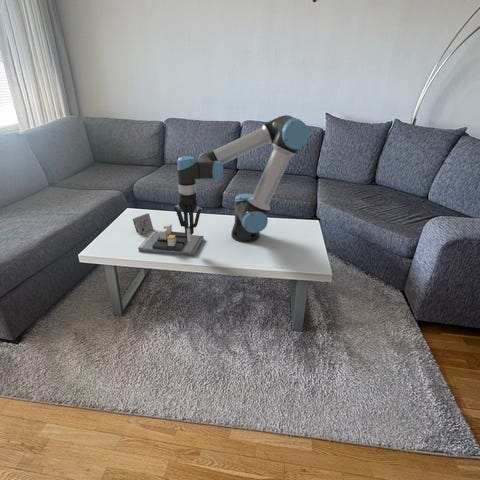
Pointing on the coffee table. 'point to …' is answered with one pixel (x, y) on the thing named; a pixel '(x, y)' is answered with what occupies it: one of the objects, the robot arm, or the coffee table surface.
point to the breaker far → (168, 228)
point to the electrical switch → (143, 223)
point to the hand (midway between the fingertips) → (189, 239)
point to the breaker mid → (163, 233)
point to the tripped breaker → (171, 240)
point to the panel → (183, 252)
